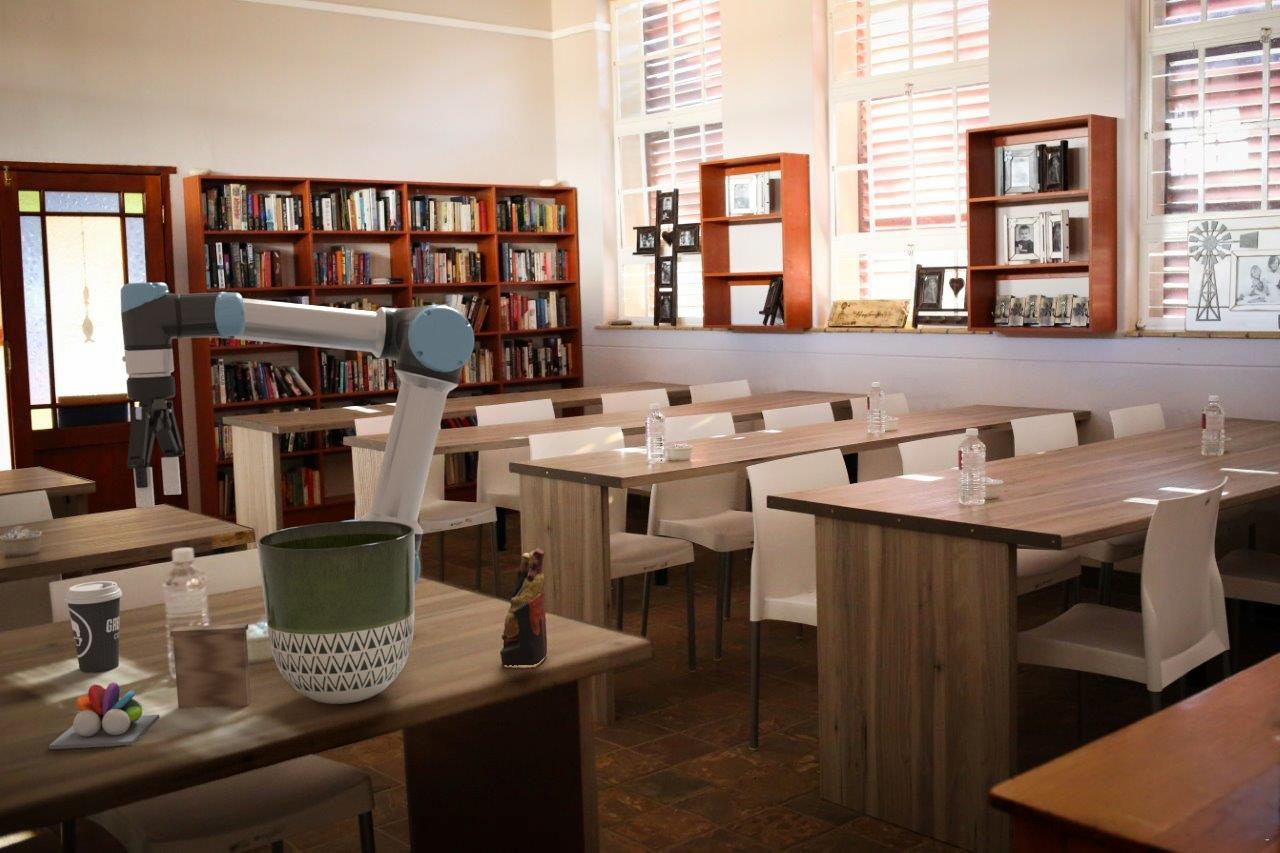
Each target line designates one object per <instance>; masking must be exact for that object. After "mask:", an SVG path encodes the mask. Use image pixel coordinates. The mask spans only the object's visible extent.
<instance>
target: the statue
mask: <svg viewBox="0 0 1280 853" xmlns="http://www.w3.org/2000/svg"><path fill="white" fill-rule="evenodd" d="M544 556H545V551H544V550H543V549H541V548H540V547H539V548H538V547H537V548H535V550H532V551H530V552H523V554H522V556H521V558H522V559H521V561H520V566H519V568H518V571H517V578H516V582H515V586H514V589H512V590H511V593H510V600H509V602H510V607H509V609H508V612H507V614H506V617H505V620H504V626H503V627H504V629H503V632H502V633H503V634H502V635H501V639H502V641H503V645H502V646H503V647H502V648H501V650H500V652H499V653H500V659H501V666H503V665H507V666H509V665H512V666H514V665H517V666H518V665H534V664H537V663H539V662H540V661H541V660H542V659H543V658H544V657H545V656H546V654H547V655H548V639H547V638H548V637H547V622H546V621H547V620H546V594H545V593H546V592H545V584H546V582H545V581H546V580H545V575H544V574H543V565H544V564H543V560H544Z"/></svg>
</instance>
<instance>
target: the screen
mask: <svg viewBox="0 0 1280 853" xmlns="http://www.w3.org/2000/svg"><path fill="white" fill-rule="evenodd" d="M248 630H249V623H237V624H233V623H232V624H216V625H215V624H214V625H213V624H212V625H211V624H210V625H196V626H194V625H191V626H190V625H189V626H174V628H172V629H170V630H169V632H170V633H169V634H170V635H169V636H170V637H172V640H173V654H174V666H175V669H174V670H175V678H176V679H175V680H176V682H175V684H176V692H177V693H176V694H177V705H178V706H177V709H180V710H181V709H199V708H217V707H220V708H221V707H239V706H240V707H241V706H248V705H250V703H251V702H252V698H251V695H252V694H251V684H250V683H251V682H250V668H249V653H248V652H249V650H248V640H247V639H248V638H247V631H248Z"/></svg>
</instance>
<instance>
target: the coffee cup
mask: <svg viewBox="0 0 1280 853" xmlns="http://www.w3.org/2000/svg"><path fill="white" fill-rule="evenodd" d="M122 596H123V592H122V589H121V588H120V587H119V586H118V584H117V582H115V581H109V580H106V581H105V580H102V581H101V580H100V581H98V580H97V581H91V582H83V583H78V584H74V585H72V586H70V587H69V588H68V591H67V594H65V598H64V602H65V603H66V604H67V606H68V612H69V617H70V623H71V628H72V633H73V638H74V646H75V650H76V656H77V662H78V668H79V671H80V672H81V673H85V674H86V673H88V674H89V673H90V674H92V673H93V674H94V673H95V674H96V673H102V672H107V671H111V670H114V669H116V668H117V667H119V665H120V661H119V660H120V606H121V604H120V602H121V597H122Z"/></svg>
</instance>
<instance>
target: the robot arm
mask: <svg viewBox="0 0 1280 853" xmlns="http://www.w3.org/2000/svg"><path fill="white" fill-rule="evenodd" d="M120 315H121V326H122V337H123V338H122V339H123V348H124V356H122V359H121V360H122V362H124V363H125V373H126V374H127V375H130V377H127V379H126V392H127V398H128V399H129V400H132V401H138V406H132V407H131V409H130V419H131V420H130V432H129V441H128V452H127V459H126V460H127V461H126V467H127V469H133V480H134V482H133V483H134V493H135V505H136V508H137V509H139V508H154V507H155V494H154V492H155V491H154V477H153V467H152V466H150V463H151V457H152V453H153V448H154V443H155V442H154V441H155V438H156V440H157V442H158V445H159V447H160V449H161V452H162V455H163V457H161V470H162V472H161V473H162V482H163V484H162V486H163V495H165V496H170V495H181V494H182V487H181V475H180V473H181V471H180V462H179V461H180V458H179V457H183V456H184V453H185V452H184V451H185V450H183V444H182V440H181V436H180V431H179V428H178V424H177V420H176V416H175V410H174V401H173V400H166V399H172V398H174V397H175V396H176V384H175V383H176V382H175V377H174V375H172V374H171V373H173V372H174V371H175V365H174V363H175V362H174V354H173V353H174V352H173V343H172V341H173V339H188V338H190V339H191V338H193V339H194V338H195V339H196V338H219V339H231V340H233V339H234V340H243V341H255V342H266V343H277V344H285V345H296V346H306V347H307V346H308V347H317V348H328V349H337V350H349V351H360V352H369V353H370V352H371V353H372V355H373V356H374V357H375V358H378V359H387V360H392V361H396V365H395V369H394V373H395V374H396V375H397V377H398V378H399V380H400V386H399V389H398V394H397V398H396V402H395V406H394V410H393V416H392V419H391V423H390V428H389V432H388V435H387V441H386V444H385V449H384V453H383V457H382V461H381V465H380V469H379V473H378V477H377V480H376V481H377V482H376V486H375V490H374V495H373V499H372V503H371V507H370V510H369V511H368V512H366V513H365V514H363V515H362V516H361V517H360V518H358V519H349V520H341V522H347V521H385V522H396V523H402V524H406V525H409V526H411V527H413V528H414V538H415V560H414V585H415V586H416V584H417V583H418V581H419V577H420V575H421V563H420V561H421V559H420V557H419V551H420V547H421V542H422V538H423V535H424V530H423V528H422V527H421V525H420V524H419V521H418V519H419V514H420V510H421V506H422V503H423V498H424V494H425V490H426V487H427V482H428V478H429V473H430V469H431V464H432V460H433V456H434V452H435V449H436V448H435V447H436V444H437V439H438V435H439V430H440V427H441V424H442V423H441V422H442V419H443V414H444V409H445V406H446V401H447V396H448V394H449V393H450V391H451V392H452V391H453V390H454V389H455V388H457V387H458V386H459V383H460V379H461V375H462V370H463V366H464V365H465V364H466V363H468V360H469V359H470V357H471V355H472V354H473V351H474V346H475V335H474V330H473V327H472V324H471V323H470V321H469V320H468V318H467V317H466V316H465V315H464V314H463V313H461V311H459V310H457V309H456V308H452V307H450V306H448V305H443V304H442V305H441V304H431V305H419V306H413V307H403V308H402V307H401V308H398V307H396V308H395V307H385V306H384V307H382V306H380V307H379V308H378V309H377V310H375V311H371V310H370V311H369V310H361V309H360V310H359V309H351V308H350V309H349V308H342V307H341V308H339V307H331V306H322V305H314V304H313V305H310V304H303V303H294V302H284V301H283V302H282V301H272V300H263V299H254V298H253V299H252V298H243V296H242V295H241V294H240V292H226V291H219V292H199V293H182V294H181V293H170V290H169V286H168V285H167V283H165V282H133V283H131V282H130V283H126V284H124V285H123V286H122V287H121V288H120Z"/></svg>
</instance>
